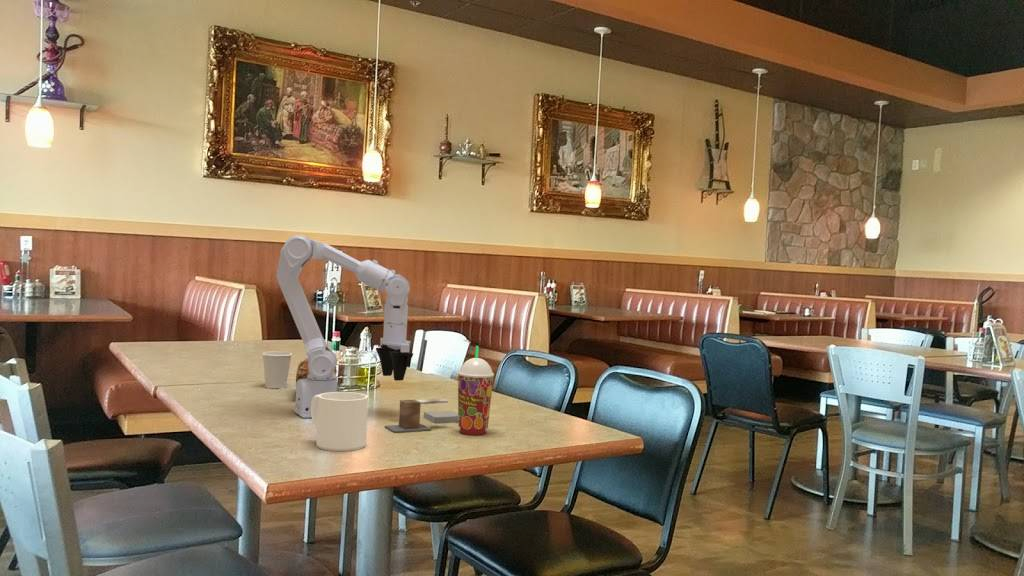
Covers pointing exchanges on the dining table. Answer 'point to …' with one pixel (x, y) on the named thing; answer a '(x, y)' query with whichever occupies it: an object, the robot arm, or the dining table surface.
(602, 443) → the dining table surface
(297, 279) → the robot arm
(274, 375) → the dixie cup
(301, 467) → the dining table surface
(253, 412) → the dining table surface
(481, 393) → the smoothie
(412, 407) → the brown white angled block
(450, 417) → the tile
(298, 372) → the bread
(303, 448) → the dining table surface
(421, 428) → the mat
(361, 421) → the mug
